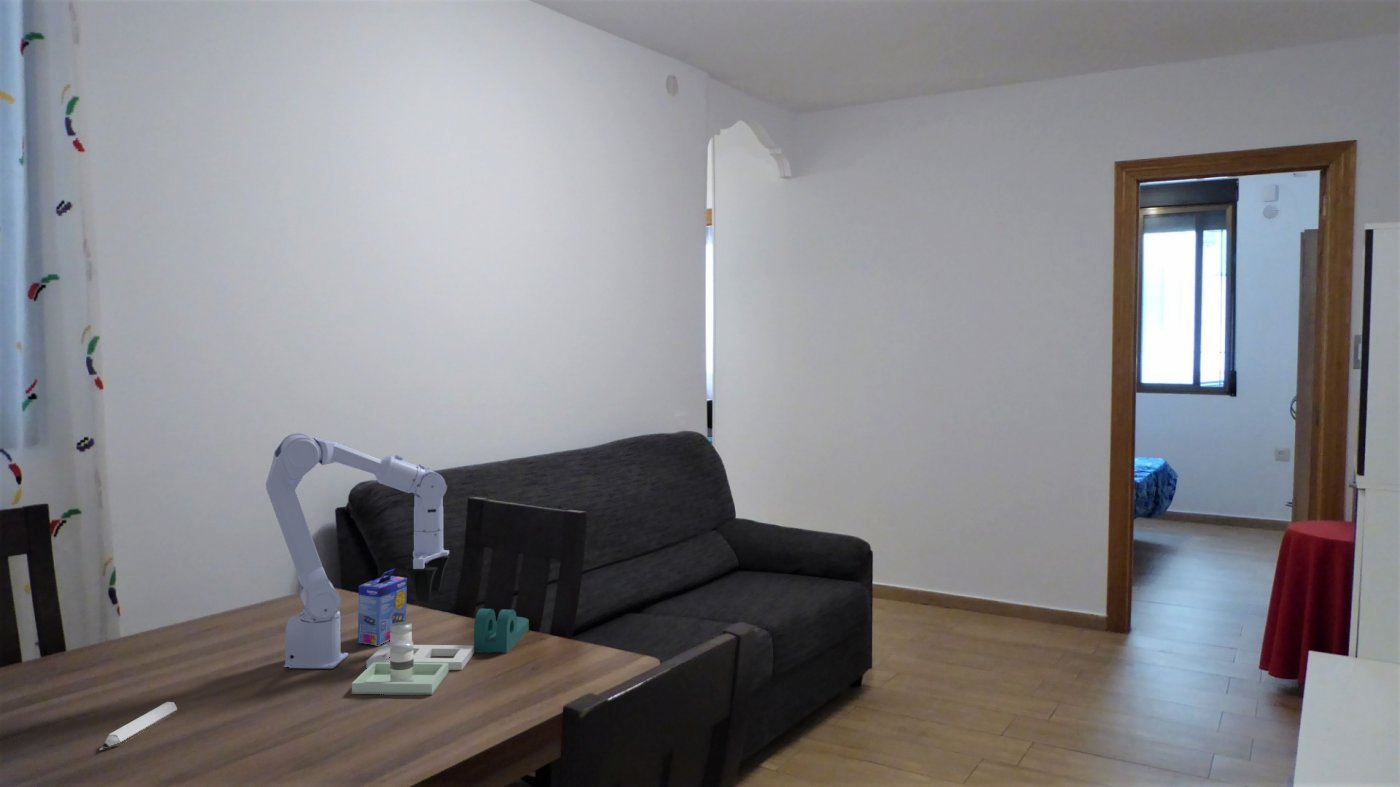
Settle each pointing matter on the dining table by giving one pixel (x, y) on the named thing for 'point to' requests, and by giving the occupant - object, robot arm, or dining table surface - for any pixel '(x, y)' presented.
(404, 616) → the ink cartridge box
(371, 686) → the parts tray
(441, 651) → the fuse holder
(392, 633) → the cylinder
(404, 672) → the cylinder
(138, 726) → the marker
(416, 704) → the dining table surface
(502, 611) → the bracket
